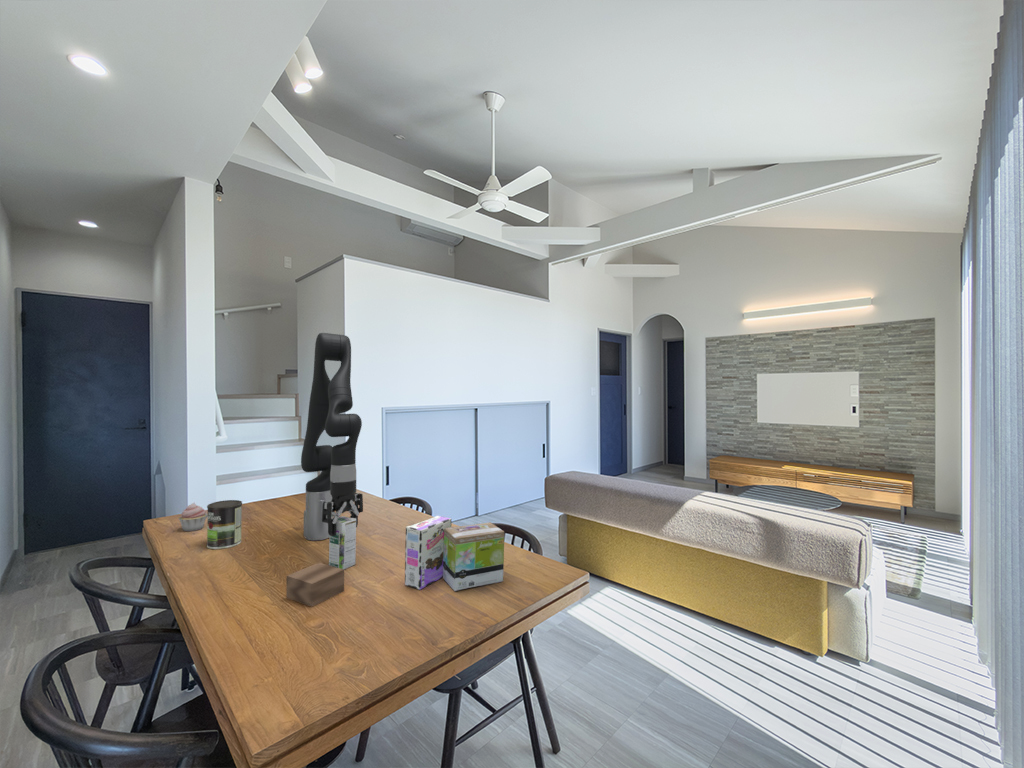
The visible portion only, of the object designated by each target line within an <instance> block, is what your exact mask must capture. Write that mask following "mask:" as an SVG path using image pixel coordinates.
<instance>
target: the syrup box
mask: <svg viewBox="0 0 1024 768" xmlns="http://www.w3.org/2000/svg"><path fill="white" fill-rule="evenodd" d="M328 539H329V545H328V546H329V547H328V549H329V550H328V551H329V552H328V554H329V555H328V565H329V566H333V567H336V568H340V569H343V570H344V571H345V570H346V569H348V568H351V567H353V566H355V565H356V555H357V553H356V551H357V550H356V547H357V527H356V518H350V516H349V517H348V516H340V517H338V519H337V521H336V536H330V537H329V538H328Z"/></svg>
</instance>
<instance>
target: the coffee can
mask: <svg viewBox="0 0 1024 768" xmlns="http://www.w3.org/2000/svg"><path fill="white" fill-rule="evenodd" d="M242 507H243V501H242V500H238V499H237V500H236V499H229V500H228V499H227V500H226V499H225V500H219V501H214V502H211V503H209V504H207V505H206V508H207V515H208V516H207V522H206V523H207V525H206V526H207V529H206V531H207V532H206V536H207V537H206V548H207V549H209V550H222V549H223V550H224V549H229V548H233V547H235V546H238V545H240V544H241V543H242V517H243V516H242V515H243V514H242V511H243V510H242V509H243V508H242Z"/></svg>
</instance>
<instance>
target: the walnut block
mask: <svg viewBox="0 0 1024 768" xmlns="http://www.w3.org/2000/svg"><path fill="white" fill-rule="evenodd" d="M285 585H286V599H289V600H291V601H294V602H297V603H299V604H302V605H305V606H309V607H311V608H314V607H315V606H317V605H319V604H321V603H323V602H325V601H327V600H329V599H330V598H333V597H335V596H338V595H339V594H341V593H344V592H345V569H344V570H343V569H340V568H336V567H333V566H329V564H325V563H322V562H317V563H315V564H312V565H309V566H307V567H305V568H302V569H300V570H297V571H295V572H293V573H290V574H287V575H286V584H285Z"/></svg>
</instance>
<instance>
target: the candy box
mask: <svg viewBox="0 0 1024 768" xmlns="http://www.w3.org/2000/svg"><path fill="white" fill-rule="evenodd" d="M451 527H452V518H451V517H446V516H441V515H435V516H433V517H430V518H428V519H424V520H423V521H420V522H416V523H414V524H411V525H407V526H405V547H404V548H405V553H404V555H405V556H404V557H405V558H404V585H405V586H407V587H411V588H413V589H416V590H422V589H424V588H426V587H427V586H429V585H431V584H433V583H434V582H437V581H439V580H441V579H443V552H444V529H445V528H451Z"/></svg>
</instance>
